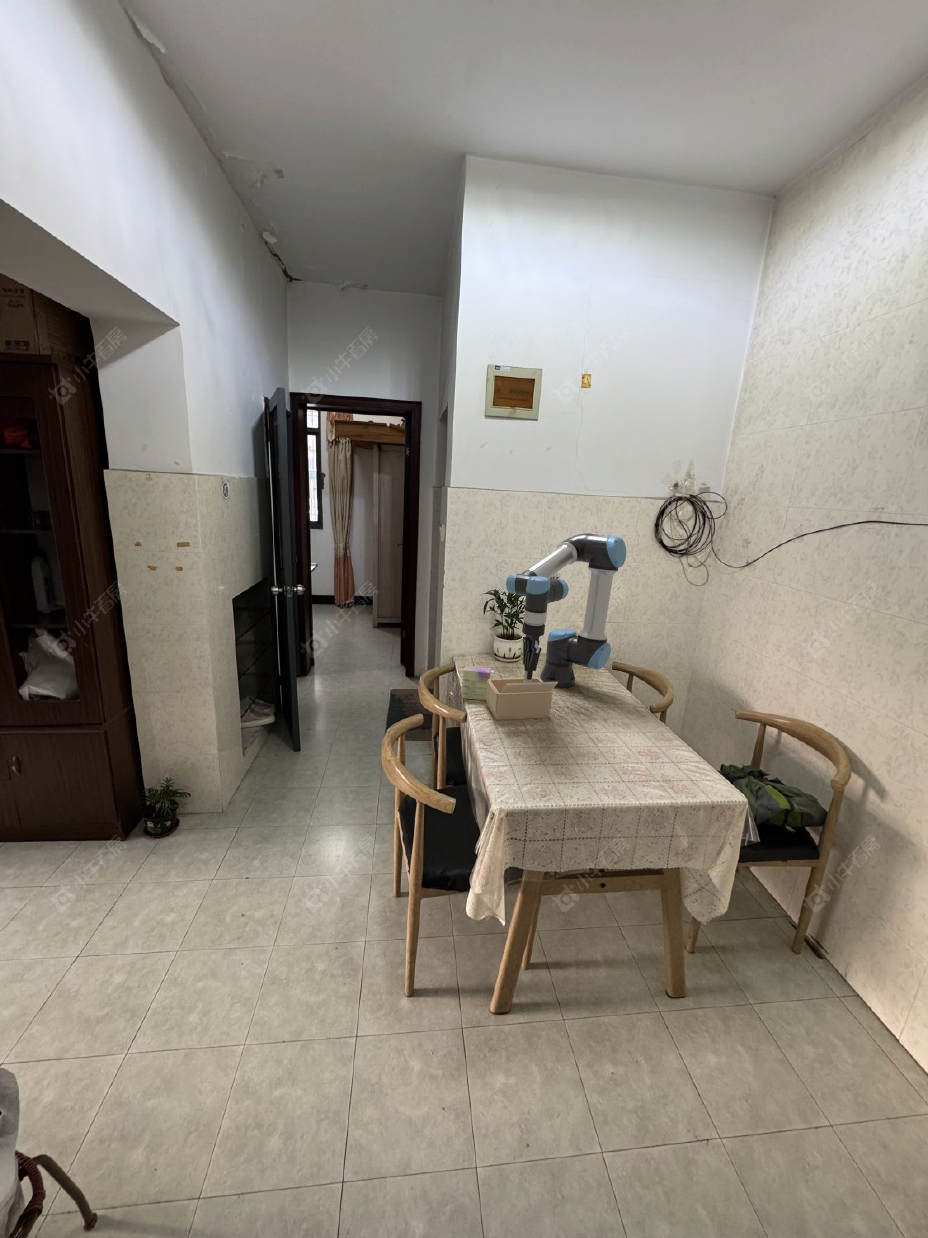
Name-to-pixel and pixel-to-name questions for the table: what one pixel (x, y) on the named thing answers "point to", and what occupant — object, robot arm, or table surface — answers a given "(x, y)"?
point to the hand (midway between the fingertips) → (527, 686)
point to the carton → (517, 701)
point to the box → (475, 682)
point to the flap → (528, 687)
